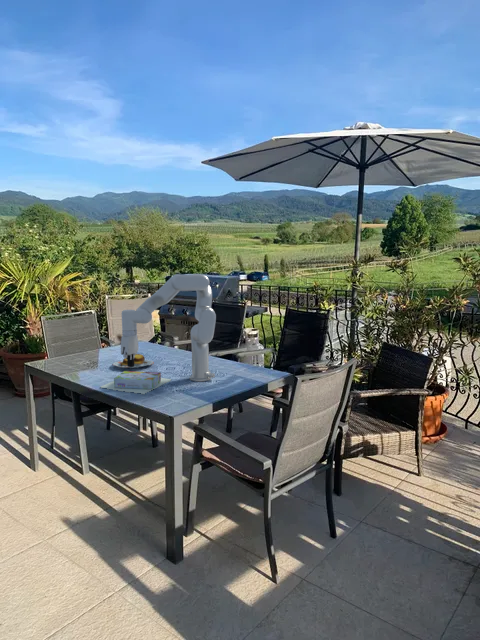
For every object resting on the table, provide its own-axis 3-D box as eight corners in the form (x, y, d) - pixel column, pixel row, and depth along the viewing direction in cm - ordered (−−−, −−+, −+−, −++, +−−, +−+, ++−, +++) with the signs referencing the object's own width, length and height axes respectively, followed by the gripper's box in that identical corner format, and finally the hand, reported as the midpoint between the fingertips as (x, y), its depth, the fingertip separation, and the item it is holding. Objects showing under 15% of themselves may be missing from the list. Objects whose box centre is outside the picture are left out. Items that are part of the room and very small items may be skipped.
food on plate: (104, 369, 265) (103, 359, 264) (128, 360, 288) (128, 350, 287) (138, 373, 256) (138, 362, 255) (161, 364, 279) (160, 354, 278)
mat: (171, 380, 242) (171, 379, 242) (143, 394, 217) (143, 393, 217) (130, 374, 252) (130, 373, 252) (99, 388, 227) (99, 386, 227)
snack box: (160, 371, 236) (152, 379, 222) (161, 381, 237) (152, 390, 223) (124, 370, 239) (113, 378, 224) (124, 379, 240) (113, 388, 225)
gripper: (132, 330, 234) (133, 362, 237) (114, 334, 220) (116, 369, 223) (143, 331, 231) (144, 363, 234) (126, 336, 218) (128, 370, 220)
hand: (130, 366), depth 229 cm, fingers closed
